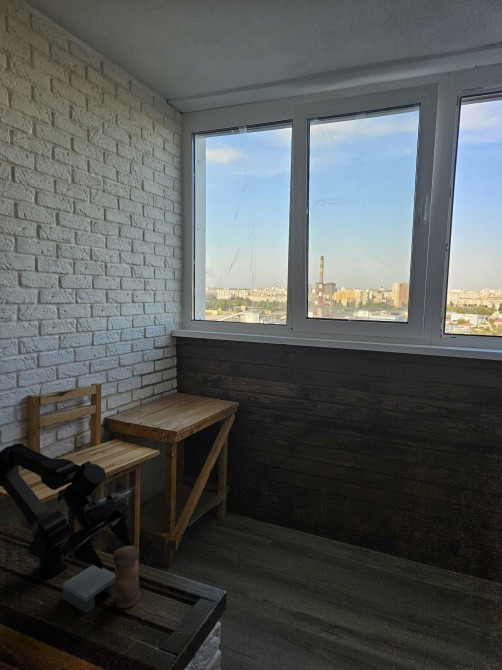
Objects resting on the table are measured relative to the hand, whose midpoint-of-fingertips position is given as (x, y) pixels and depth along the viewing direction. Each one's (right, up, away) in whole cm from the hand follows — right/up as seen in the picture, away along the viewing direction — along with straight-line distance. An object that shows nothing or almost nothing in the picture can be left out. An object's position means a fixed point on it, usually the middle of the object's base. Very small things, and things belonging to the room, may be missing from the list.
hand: (116, 557), depth 106 cm
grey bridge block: (-7, -10, +1) cm, 12 cm away
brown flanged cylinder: (+3, -10, 0) cm, 11 cm away
